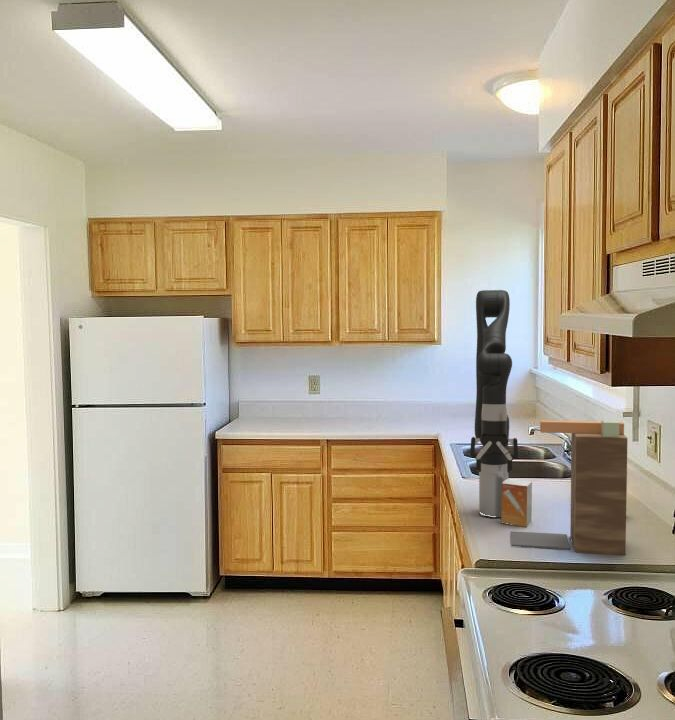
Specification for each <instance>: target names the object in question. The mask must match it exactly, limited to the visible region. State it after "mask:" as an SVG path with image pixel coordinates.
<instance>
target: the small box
mask: <svg viewBox="0 0 675 720" xmlns="http://www.w3.org/2000/svg"><path fill="white" fill-rule="evenodd" d="M532 490H533V481H529V480H521V479H509V478H508V479H506V480H505V481H504V482H503V483H502V500H501V518H500V519H501V522H503V523H508V524H507V525H509V524H512V525H511V526H515V525H519V526H518V527H522V526H525V527H524V528H527V527H529V525H530V524H531V523H532V514H533V513H532V511H533V510H532V507H533V501H532V500H533V492H532ZM501 522H500V523H501ZM530 522H531V523H530Z"/></svg>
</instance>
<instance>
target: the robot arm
mask: <svg viewBox="0 0 675 720" xmlns="http://www.w3.org/2000/svg"><path fill="white" fill-rule="evenodd" d="M510 304H511V303H510V295H509V293H508V291H507V290H503V289H494V290H493V289H490V290H489V289H486V290H485V289H484V290H478V292H477V294H476V297H475V316H476V318H475V319H476V353H475V354H476V355H475V356H476V358H475V359H476V360H475V367H476V368H475V374H476V375H475V377H476V378H475V379H476V383H475V384H476V394H475V395H476V398H475V399H476V400H475V415H474V436H472V437H471V439H470V454H469V456H470V457H471V458H473V459H475V463H476V464H475V467H476V470H477V471H478V473H479V474H478V476H479V477H478V479H479V480H478V484H479V485H478V488H479V489H478V492H479V493H478V494H479V495H478V502H479V503H478V509H479V510H478V512H479V511H480V512H481V513H483V514H485V515H490V516H496V517H501V500H502V483H503V482H504V481H505V480H506V479H509V473H510V472H511V471H512V470H513V460H516V459H518V458H519V449H518V447H519V445H518V439H517V437H513V438H509V437H510V418H509V415H508V411H507V385H508V380H509V378H510V374H511V372H512V369H513V368H512V367H513V360H512V357H511V355H509V354H508V353H506V348H507V347H506V346H507V344H506V341H507V337H506V335H507V328H508V322H509V315H510V306H511V305H510ZM487 318H495V319H494V320H493V321H492V322H491V323H490V324H489V325H488V323H487ZM479 442H480V444H481V446H482V448H481V449H480V450H479V452H478V453H475V452H476V451H475V450H476V446H477V445H478V444H479ZM509 444H510V445H511V446H513V447H512V448H513V454H511V453H510V452H509Z"/></svg>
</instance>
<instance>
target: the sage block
mask: <svg viewBox="0 0 675 720" xmlns="http://www.w3.org/2000/svg"><path fill="white" fill-rule="evenodd" d="M601 421H602V425H601V435H602V436H603V437H613V438H619V422H620V421H618V420H614V419H612V420H610V419H609V420H605V419H601Z"/></svg>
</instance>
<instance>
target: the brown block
mask: <svg viewBox="0 0 675 720" xmlns="http://www.w3.org/2000/svg"><path fill="white" fill-rule="evenodd" d="M539 422H540V423H539V424H540V425H539V430H540V433H544V434H545V433H547V434H548V433H549V434H572V433H583V434H601V425H602V420H601V421H595V420H594V421H593V420H591V421H590V420H547V419H540V421H539ZM618 422H619V434H624V435H625V423H624V422H623V421H618Z"/></svg>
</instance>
